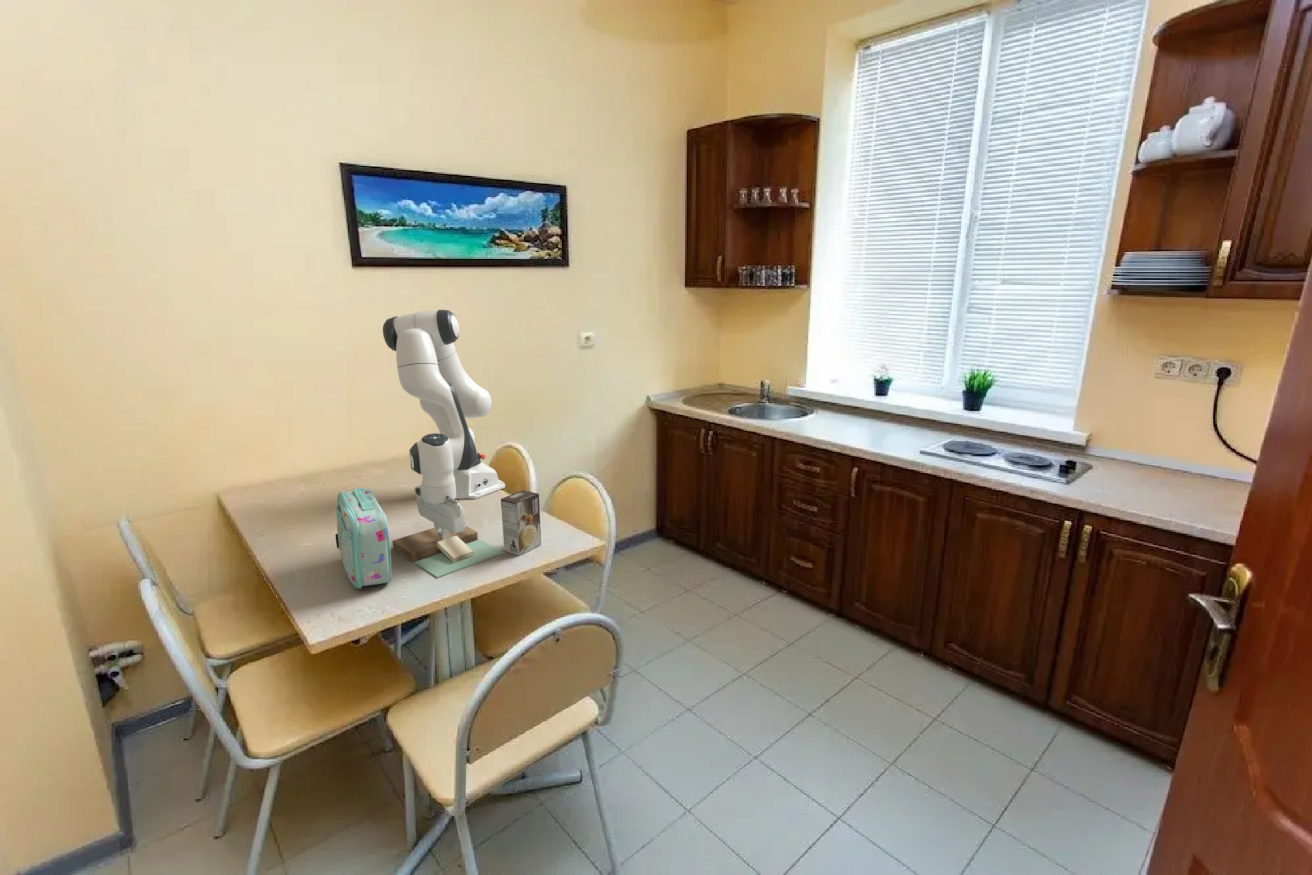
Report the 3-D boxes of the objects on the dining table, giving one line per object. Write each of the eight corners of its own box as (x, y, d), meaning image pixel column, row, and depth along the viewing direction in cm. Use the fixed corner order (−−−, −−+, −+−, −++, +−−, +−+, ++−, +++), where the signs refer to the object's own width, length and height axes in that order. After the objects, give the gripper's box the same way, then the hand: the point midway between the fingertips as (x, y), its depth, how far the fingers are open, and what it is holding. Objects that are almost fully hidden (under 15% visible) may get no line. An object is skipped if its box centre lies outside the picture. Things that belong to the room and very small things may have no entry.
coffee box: (525, 539, 180) (523, 488, 176) (541, 544, 176) (540, 493, 172) (503, 550, 172) (500, 498, 168) (519, 556, 169) (517, 503, 165)
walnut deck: (456, 528, 187) (456, 520, 186) (477, 539, 179) (477, 531, 178) (393, 548, 172) (392, 540, 172) (413, 562, 165) (412, 553, 164)
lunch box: (336, 557, 167) (326, 484, 161) (376, 548, 173) (368, 477, 167) (353, 598, 146) (343, 516, 140) (398, 587, 152) (390, 507, 146)
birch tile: (456, 539, 173) (456, 535, 173) (473, 555, 168) (473, 551, 168) (436, 546, 169) (436, 541, 168) (453, 562, 164) (453, 558, 163)
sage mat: (479, 540, 178) (479, 539, 178) (503, 553, 171) (503, 552, 171) (415, 563, 164) (414, 561, 164) (437, 578, 156) (437, 576, 156)
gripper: (469, 498, 163) (472, 545, 167) (432, 481, 177) (435, 524, 180) (448, 504, 159) (451, 552, 162) (411, 486, 172) (415, 531, 176)
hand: (443, 538), depth 171 cm, fingers closed
